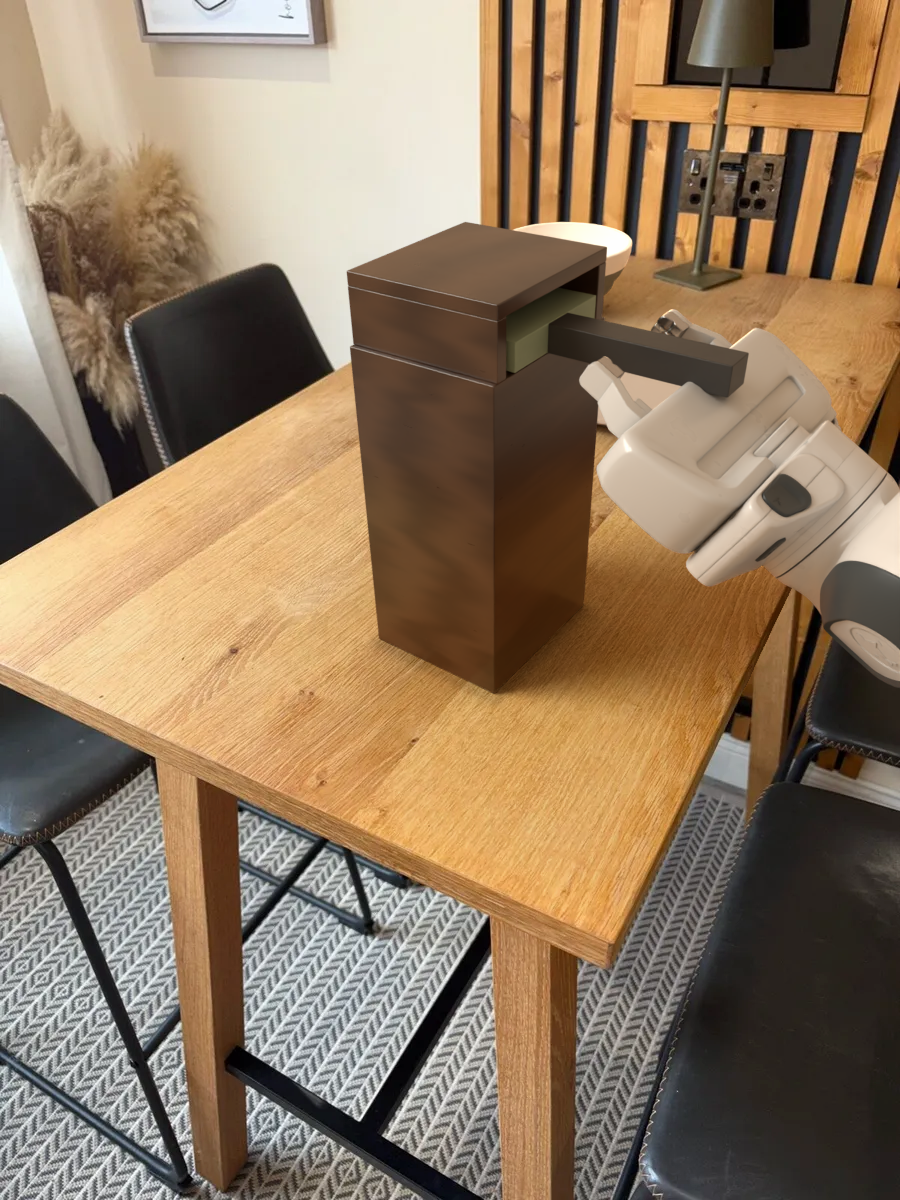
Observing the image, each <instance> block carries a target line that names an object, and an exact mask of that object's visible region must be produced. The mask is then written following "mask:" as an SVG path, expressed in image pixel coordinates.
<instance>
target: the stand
mask: <svg viewBox="0 0 900 1200" xmlns="http://www.w3.org/2000/svg"><path fill="white" fill-rule="evenodd" d="M606 257H607V247H605V246H599V245H593V244H588V243H582V242H576V241H571V240H565V239H560V238H554V237H548V236H543V235H537V234H531V233H526V232H520V231H514V229H510V228H509V229H508V228H503V227H497V226H492V225H485V224H479V223H474V222H469V221H463V222H461V223H459V224H456V225H453V226H452V227H449V228H447V229H444V230H442V231H440V232H437V233H435V234H433V235H430V236H428V237H425V238H422V239H420V240H417V241H416V242H413V243H411V244H407V245H406V246H403V247H401V248H398V249H396V250H393V251H391V252H388V253H386V254H384V255H381V256H379V257H377V258H374V259H372V260H369V261H366V262H364V263H362V264H360V265H357V266H355V267H352V268H350V269H348V270H346V281H347V292H348V302H349V303H348V304H349V312H350V324H351V334H352V343H353V344H352V345H350V346H349V353H350V363H351V371H352V383H353V393H354V403H355V413H356V423H357V432H358V433H357V434H358V442H359V453H360V462H361V472H362V473H361V475H362V483H363V492H364V502H365V503H364V504H365V513H366V523H367V532H368V533H367V534H368V540H369V541H368V543H369V544H368V545H369V553H370V562H371V573H372V582H373V583H372V585H373V592H374V593H373V594H374V603H375V604H374V605H375V612H376V613H375V615H376V623H377V633H378V639H379V640H381V641H383V642H386V643H388V644H389V645H391V646H394V647H396V648H397V649H400V650H402V651H404V652H406V653H408V654H410V655H413V656H415V657H416V658H418V659H421V660H422V661H424V662H427V663H429V664H430V665H433V666H434V667H437V668H439V669H441V670H444V671H446V672H448V673H450V674H452V675H454V676H456V677H458V678H461V679H462V680H464V681H466V682H469V683H471V684H473V685H475V686H477V687H480V688H481V689H483V690H485V691H488V692H490V693H492V694H496V693H497V692H498V691H499V690H500V689H501V688H502V687H503V686H504V685H505V684H506V683H507V682H508V681H509V680H510V679H511V678H512V677H513V676H514V675H515V674H516V673H517V672H518V671H519V670H520V669H521V668H522V667H523V666H524V665H525V664H526V663H527V662H528V661H529V660H530V659H531V658H532V657H533V656H534V655H535V654H536V653H537V652H538V651H539V650H540V649H541V648H542V647H543V646H544V645H545V644H546V643H547V642H548V641H549V640H550V639H551V638H553V636H554V635H556V633H557V632H558V631H559V630H561V628H562V627H563V626H564V625H565V624H567V623H568V622H569V620H570V619H572V617H573V616H575V614H577V613H578V612H579V610H581V609H582V607H584V606H585V597H586V596H585V595H586V583H587V582H586V581H587V570H588V569H587V568H588V557H589V556H588V555H589V554H588V553H589V552H588V551H589V540H590V529H591V528H590V527H591V526H590V525H591V513H592V500H593V499H592V498H593V486H594V485H593V484H594V471H595V458H596V445H597V444H596V443H597V431H598V430H597V429H598V425H597V418H598V401H597V400H596V399H595V398H593V397H592V396H591V395H590V394H589V393H588V392H587V391H586V390H585V389H584V388H583V387H582V386H581V385H580V382H579V379H580V376H581V375H582V374H583V372H584V371H585V369H586V368H587V366H588V365H589V364H590V363H586V362H582V361H578V360H574V359H570V358H566V357H562V356H558V355H554V354H550V353H546V354H545V355H543V356H541V357H540V358H538V359H537V360H535V361H533V362H532V363H530V364H528V365H527V366H525V367H524V368H522V369H520V370H519V371H517V372H516V373H513V372H510V371H506V316H507V315H509V314H511V313H513V312H515V311H516V310H518V309H520V308H522V307H524V306H525V305H527V304H529V303H531V302H533V301H535V300H536V299H538V298H540V297H542V296H544V295H546V294H547V293H549V292H551V291H553V290H555V289H556V288H563V289H568V290H572V291H577V292H582V293H587V294H592V295H596V304H595V319H599V320H603V321H606V318H605V317H604V316H603V313H604V296H605V295H604V285H605V270H606Z"/></svg>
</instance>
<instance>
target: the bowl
mask: <svg viewBox="0 0 900 1200" xmlns="http://www.w3.org/2000/svg"><path fill="white" fill-rule="evenodd" d="M513 230H514V231H520V232H526V233H531V234H537V235H543V236H548V237H554V238H560V239H565V240H571V241H576V242H582V243H588V244H593V245H599V246H605V247H607V257H606V270H605V285H604V296H606V295H607V293H609V292H610V290H611V289H613V288H612V287H613V286H614V283H615V282H616V280H617V279H618V278H619V277H620V276H621V274H622V272H623V271H624V270H625V267H626V266H627V265H628V262H629V259H630V256H631V253H632V248H633V239H632V238H631V237H630V236H629V235H628V234H627V233H625V232H624V231H622V230H619V229H617V228H614V227H612V226H611V227H610V226H606V225H601V224H596V223H589V222H577V221H575V222H574V221H555V222H543V223H534V224H529V225H525V226H521V227H516V228H514V229H513Z"/></svg>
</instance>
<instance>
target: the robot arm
mask: <svg viewBox="0 0 900 1200" xmlns="http://www.w3.org/2000/svg"><path fill="white" fill-rule="evenodd" d="M650 331H653V332H657V333H662V334H666V335H671V336H675V337H680V338H684V339H689V340H693V341H698V342H702V343H707V344H712V345H716V346H721V347H725V348H730V349H734V350H739V351H743V352H748V353H749V356H748V361H747V367H746V373H745V379H744V384H743V385H742V386H740V387H739V388H738V389H737V390H736V391H735V392H734V393H732V394H731V395H730V396H729V397H728V398H726V397H722V396H718V395H714V394H710V393H706V392H705V391H703V390H702V389H701V388H700V387H699V386H697V385H696V384H694V383H693V382H687V383H685V384H684V385H683V386H682V387H680V388H679V389H678V390H677V391H675V392H674V393H673V394H672V395H670V396H669V397H668V398H667V399H665V400H664V401H663V402H662V403H660V404H659V405H658V406H657V407H655V408H654V409H653V410H652V409H651V408H650V407H649V406H648V405H646V404H645V403H644V402H643V401H642V400H641V399H639V398H637V399H636V400H635V401H633V400H632V398H631V396H630V395H629V393H628V391H627V390H626V388H625V386H624V385H623V383H622V381H621V380H620V379H621V377H622V376H623V374H624V373H625V372H624V371H623V370H622V369H620V368H619V367H618V366H617V365H615V364H613V363H612V361H611V359H609V358H608V357H606V356H603V357H600V358H598V359H597V360H595V361H594V362H592V363H591V364H589V365H588V366H587V368H586V369H585V371H584V372H583V374H582V375H581V376H580V379H579V382H580V385H581V386H582V387H583V388H584V389H585V390H586V391H587V392H588V393H589V394H590V395H591V396H592V397H593V398H595V399H596V400H597V401H598V406H599V408H600V410H601V413H602V415H603V417H604V420H605V422H606V425H607V426H606V427H607V429H608V431H609V432H610V433H611V434H613V435H614V437H615V438H617V440H616V441H615V442H614V443H613V445H612V446H611V447H610V448H609V449H608V450H607V452H606V453H605V455H603V457H602V458H601V460H600V461H599V462H598V463H597V465H596V468H595V469H596V475H597V478H598V481H599V484H600V486H601V489H602V490H603V492H604V494H605V495H606V496H607V497H608V498H609V499H610V500H611V502H613V503H614V504H615V505H616V506H617V507H618V508H619V509H620V510H621V511H622V512H623V513H624V514H625V515H626V516H627V517H628V518H629V519H630V520H631V521H633V523H634V524H636V525H637V526H638V527H639V528H641V530H643V531H644V532H645V533H646V534H647V535H648V536H649V537H651V539H653V540H654V541H655V542H656V543H658V544H659V545H661V546H662V547H664V548H665V549H667V550H668V551H671V552H673V553H676V554H680V555H686V554H690V555H688V558H687V559H686V561H685V567H686V569H687V571H688V572H689V573H690V574H691V576H692V577H693V578H694V579H695V580H697V581H698V582H699V583H700V584H701V585H703V586H705V587H714V586H717V585H719V584H722V583H724V582H727V581H729V580H731V579H734V578H737V577H739V576H741V575H744V574H747V573H750V572H752V571H755V570H758V569H760V568H761V567H763V568H764V569H765V570H766V571H767V572H769V574H771V575H772V576H773V577H774V578H775V580H777V581H778V582H780V583H782V584H783V585H785V586H786V587H789V588H790V589H793V590H794V591H796V592H798V593H800V594H801V595H802V596H804V597H805V598H806V599H807V600H808V601H810V602H811V604H812V605H813V606H814V607H815V608H816V609H817V611H818V613H819V614H820V617H821V622H822V628H823V630H824V631H825V632H826V633H827V634H828V636H830V637H831V638H832V639H833V640H834V641H835V642H836V643H837V644H838V645H840V646H841V648H843V649H844V650H845V651H846V652H847V653H848V654H849V655H851V657H852V658H854V659H855V660H856V661H857V662H858V663H859V664H860V665H861V666H863V668H864V669H865V670H867V671H868V672H869V673H870V674H871V675H873V676H874V677H875V678H877V679H878V680H880V681H882V682H883V683H885V684H887V685H889V686H891V687H893V688H896V689H900V487H899V485H898V483H897V482H896V480H895V478H894V477H893V476H892V475H891V474H890V473H889V472H888V471H887V470H886V469H884V468H883V467H882V466H881V465H880V464H879V463H877V462H876V461H875V460H874V458H872V457H871V456H870V455H869V454H868V453H867V452H866V451H865V450H863V449H862V448H861V447H860V446H858V444H857V443H855V442H854V441H853V440H852V439H851V438H850V437H848V436H847V435H846V434H845V433H844V432H843V431H842V427H841V426H840V425H839V420H838V418H837V411H836V410H835V408H834V407H833V406H832V397H831V394H830V392H829V390H828V389H827V387H826V385H824V384H823V382H822V381H821V380H820V379H819V378H818V376H817V375H816V374H815V373H814V372H813V371H812V370H811V369H810V368H809V367H808V365H806V364H805V363H804V361H803V360H801V358H800V357H799V356H798V355H797V354H796V353H795V352H794V351H792V349H791V348H789V346H788V345H787V344H786V343H784V342H783V341H782V340H781V338H779V336H777V335H775V334H774V333H773V332H771V331H768V330H765V329H763V328H761V327H754V328H752V329H751V330H750V331H749V332H747V333H746V334H745V335H743V336H742V337H741V338H740V339H739V340H738V341H736V342H735V343H734V344H732V343H731V342H730V341H729V340H728V339H727V338H726V337H724V336H723V335H722V334H721V333H719V332H716V331H714V330H711V329H709V328H706V327H704V326H702V325H699V324H696V323H693V322H692V321H690V320H689V319H688V318H687V317H686V316H684V314H683V313H681V312H680V311H679V310H678V309H675V308H672V309H669V310H667V311H666V312H665V313H664V314H663V315H662V316H659V318H658V319H657V321H656V322H655V324H654V325H653V326H652V327H651V328H650Z"/></svg>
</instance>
